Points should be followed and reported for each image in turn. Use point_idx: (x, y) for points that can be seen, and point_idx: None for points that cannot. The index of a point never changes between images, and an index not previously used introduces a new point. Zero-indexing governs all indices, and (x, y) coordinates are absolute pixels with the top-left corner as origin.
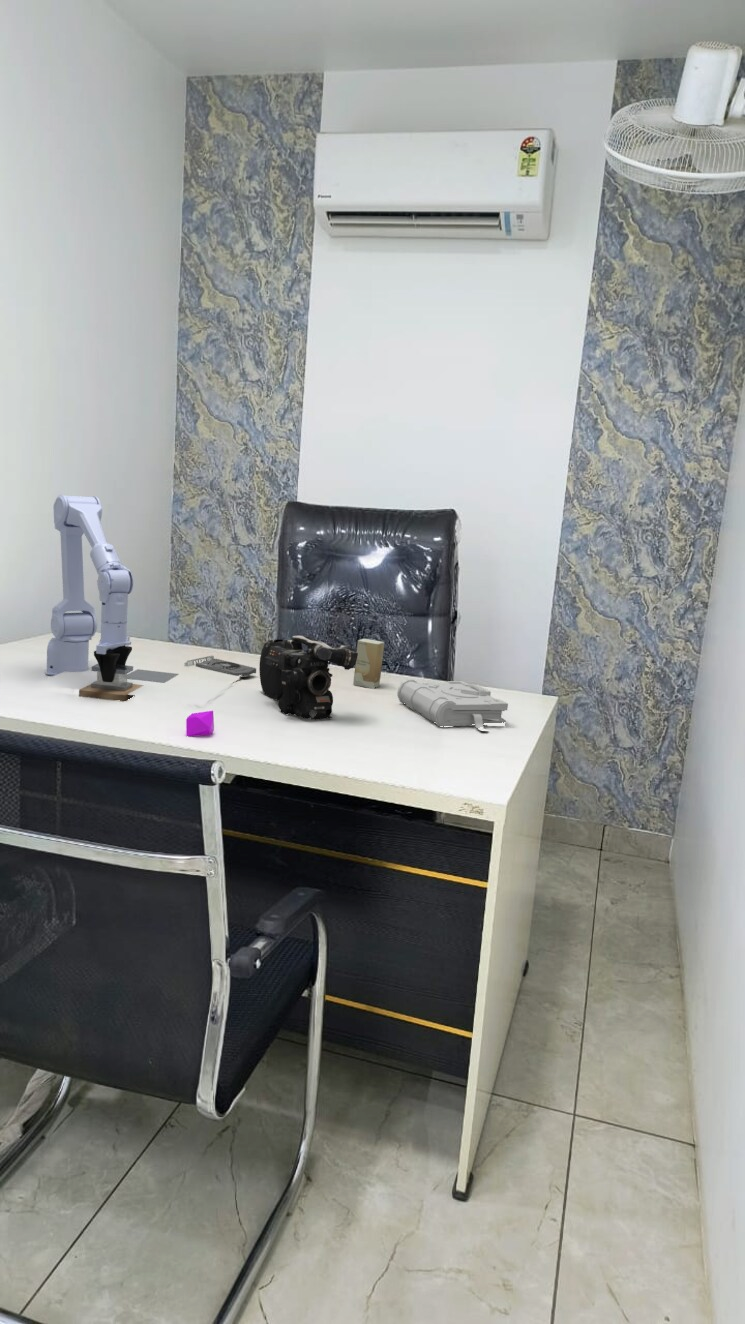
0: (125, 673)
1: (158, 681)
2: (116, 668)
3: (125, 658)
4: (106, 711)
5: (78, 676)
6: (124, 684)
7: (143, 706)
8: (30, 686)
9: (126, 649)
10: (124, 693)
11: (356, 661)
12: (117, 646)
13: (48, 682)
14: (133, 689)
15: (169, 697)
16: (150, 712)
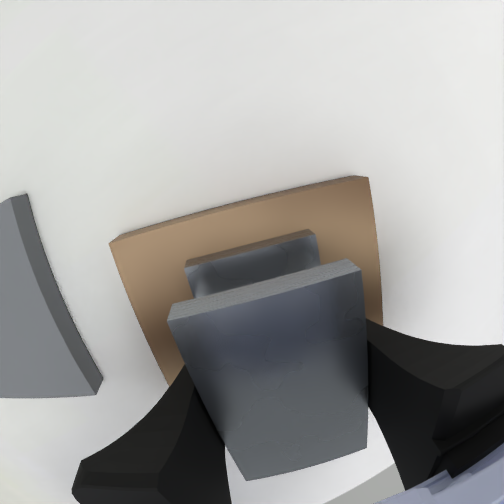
0: (336, 264)
1: (10, 236)
2: (338, 355)
3: (183, 423)
4: (482, 160)
5: None
6: (253, 278)
7: (366, 69)
8: (328, 481)
9: (172, 494)
10: (341, 203)
11: None
12: (498, 463)
13: (264, 489)
14: (232, 220)
15: (138, 63)
16: (411, 20)
